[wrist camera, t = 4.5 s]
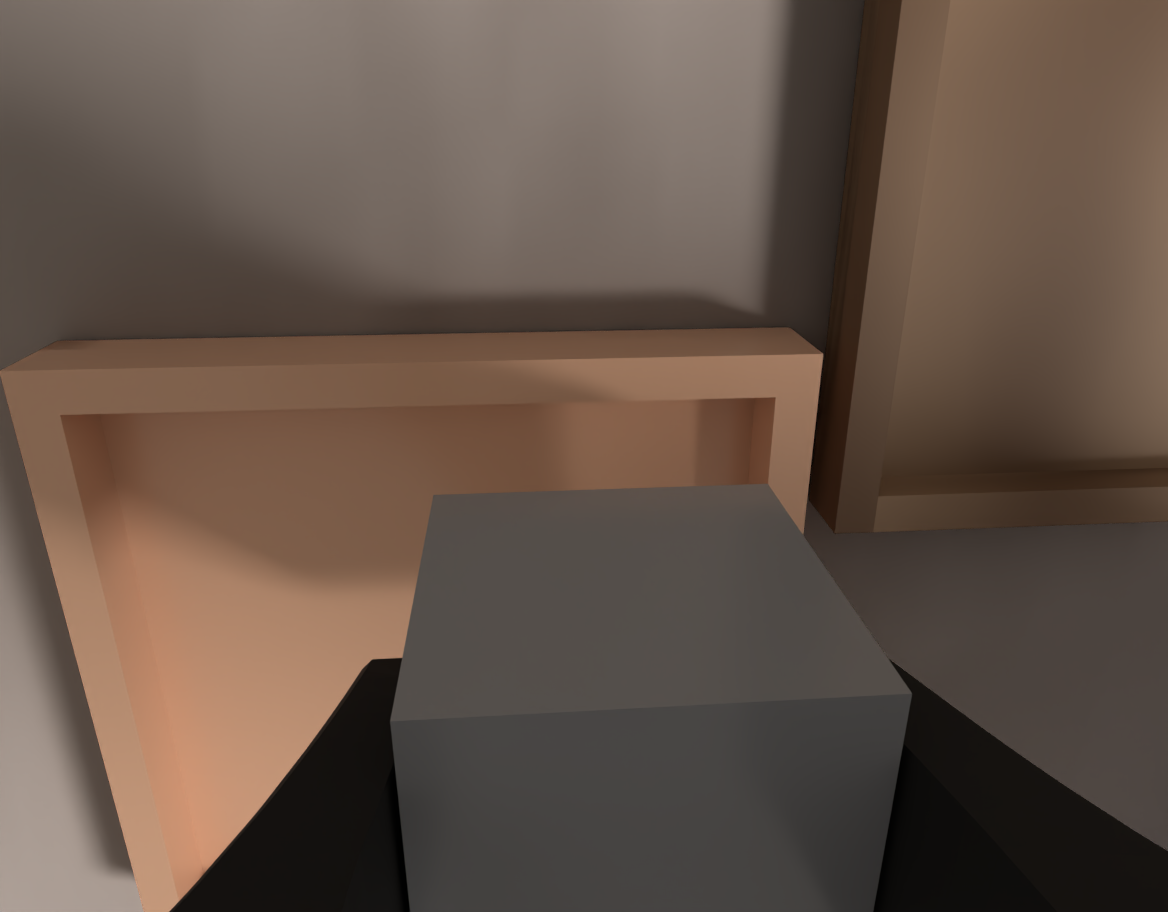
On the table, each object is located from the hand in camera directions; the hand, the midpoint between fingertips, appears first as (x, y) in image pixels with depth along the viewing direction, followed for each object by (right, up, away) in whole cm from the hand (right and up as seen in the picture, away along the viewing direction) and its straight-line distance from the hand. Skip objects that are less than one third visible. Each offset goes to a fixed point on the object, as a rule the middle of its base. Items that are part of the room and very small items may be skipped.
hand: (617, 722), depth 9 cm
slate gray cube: (0, +1, +2) cm, 2 cm away
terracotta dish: (-3, 0, +5) cm, 6 cm away
